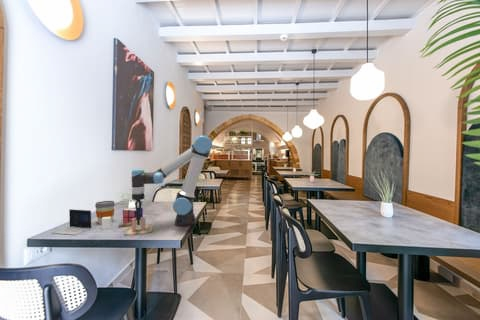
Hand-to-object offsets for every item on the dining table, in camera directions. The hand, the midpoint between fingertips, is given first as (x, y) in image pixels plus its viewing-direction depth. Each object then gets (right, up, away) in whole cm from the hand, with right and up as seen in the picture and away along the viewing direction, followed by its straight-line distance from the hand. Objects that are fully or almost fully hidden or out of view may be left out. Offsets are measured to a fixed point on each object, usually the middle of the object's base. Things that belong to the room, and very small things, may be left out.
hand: (138, 228), depth 157 cm
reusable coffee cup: (-33, -2, +21) cm, 39 cm away
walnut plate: (-14, -2, +11) cm, 18 cm away
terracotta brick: (0, 0, 0) cm, 0 cm away
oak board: (0, -2, 0) cm, 2 cm away
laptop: (-44, -3, +1) cm, 44 cm away
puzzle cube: (-13, -2, +21) cm, 25 cm away
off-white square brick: (-25, -2, +8) cm, 26 cm away
